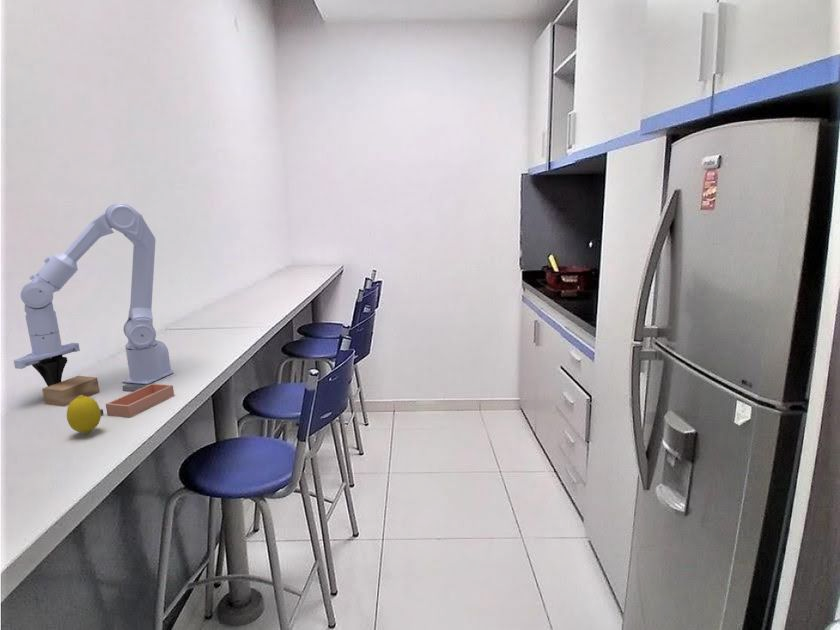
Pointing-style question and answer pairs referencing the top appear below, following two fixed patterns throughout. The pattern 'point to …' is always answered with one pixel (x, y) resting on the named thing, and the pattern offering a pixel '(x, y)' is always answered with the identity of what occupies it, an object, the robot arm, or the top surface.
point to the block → (70, 390)
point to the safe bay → (128, 388)
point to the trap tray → (139, 400)
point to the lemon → (83, 414)
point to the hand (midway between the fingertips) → (54, 388)
